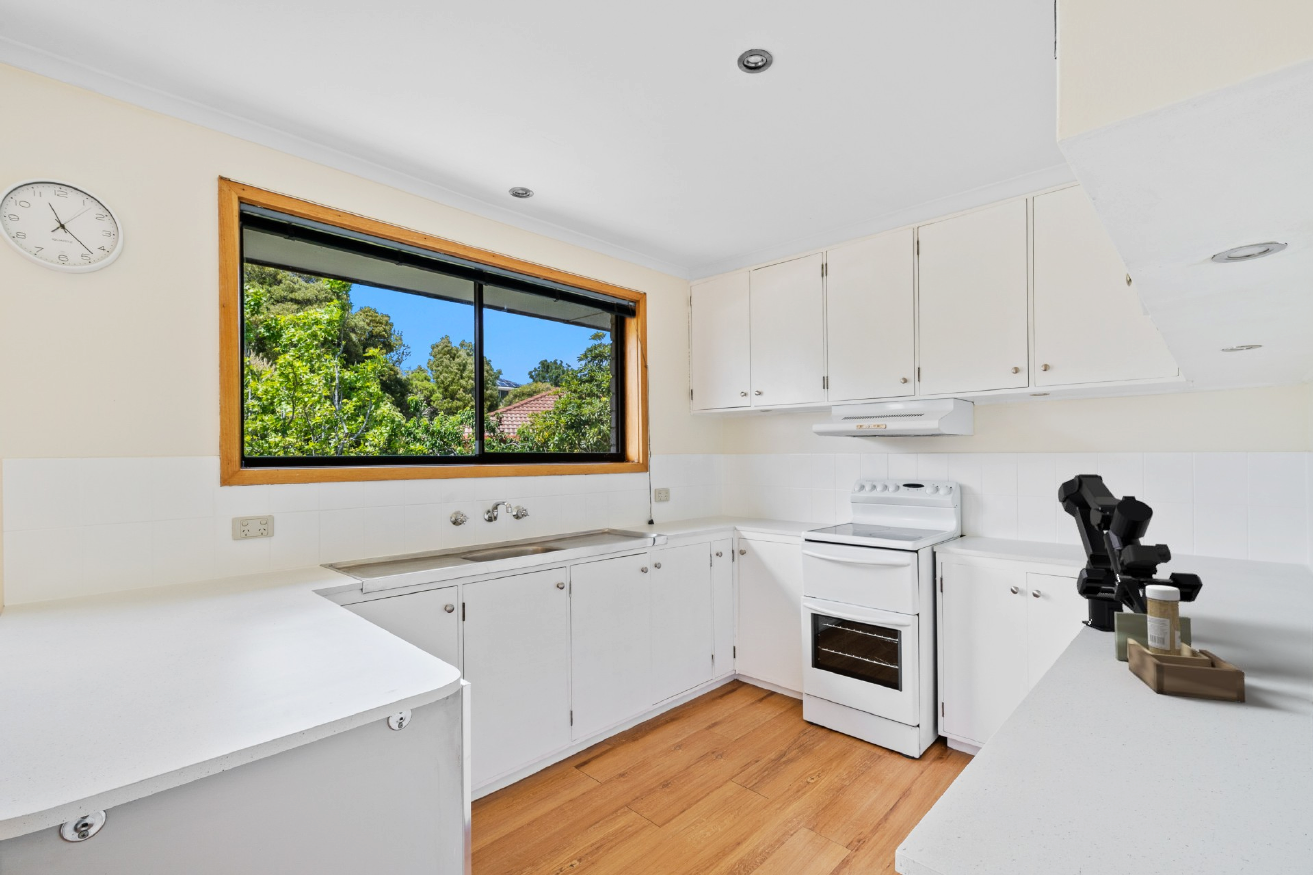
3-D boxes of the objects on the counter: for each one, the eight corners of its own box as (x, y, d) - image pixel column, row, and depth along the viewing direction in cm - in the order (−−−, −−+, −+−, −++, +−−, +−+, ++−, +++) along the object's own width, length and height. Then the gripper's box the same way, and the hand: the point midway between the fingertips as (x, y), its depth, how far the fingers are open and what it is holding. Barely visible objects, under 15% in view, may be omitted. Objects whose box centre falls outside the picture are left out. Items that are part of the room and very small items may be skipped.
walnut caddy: (1128, 669, 110) (1128, 643, 110) (1206, 676, 107) (1206, 649, 107) (1156, 693, 99) (1156, 664, 99) (1245, 702, 95) (1244, 672, 95)
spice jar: (1189, 670, 106) (1186, 589, 106) (1163, 670, 106) (1161, 589, 106) (1165, 661, 111) (1163, 583, 111) (1140, 662, 110) (1138, 584, 111)
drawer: (1115, 657, 117) (1114, 611, 117) (1188, 664, 113) (1187, 616, 113) (1140, 678, 105) (1139, 627, 106) (1222, 686, 102) (1221, 633, 102)
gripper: (1079, 526, 124) (1098, 593, 113) (1196, 530, 118) (1228, 602, 107) (1069, 561, 131) (1086, 628, 120) (1179, 566, 125) (1208, 637, 114)
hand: (1149, 623), depth 115 cm, fingers closed, pressing on drawer
